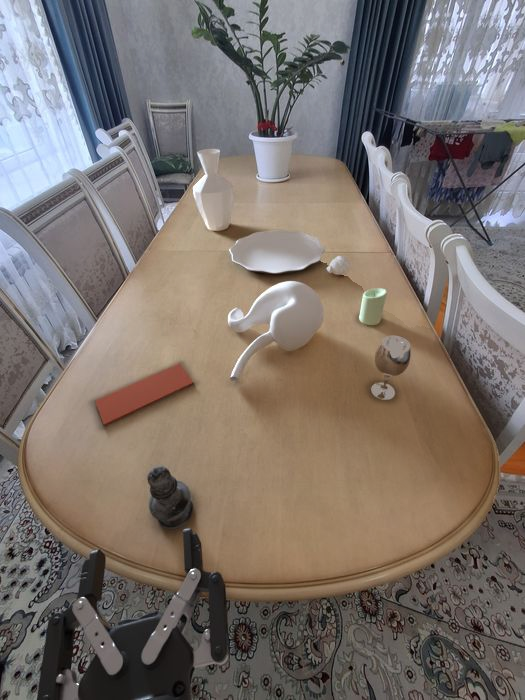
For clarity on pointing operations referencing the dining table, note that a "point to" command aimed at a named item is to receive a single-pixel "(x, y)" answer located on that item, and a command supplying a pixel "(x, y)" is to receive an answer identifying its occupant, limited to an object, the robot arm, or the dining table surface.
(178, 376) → the rectangular block
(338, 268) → the garlic bulb
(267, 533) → the dining table surface
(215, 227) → the vase
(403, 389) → the dining table surface
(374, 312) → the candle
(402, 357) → the wineglass
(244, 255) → the plate
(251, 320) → the stomach
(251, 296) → the dining table surface
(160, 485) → the chess piece
